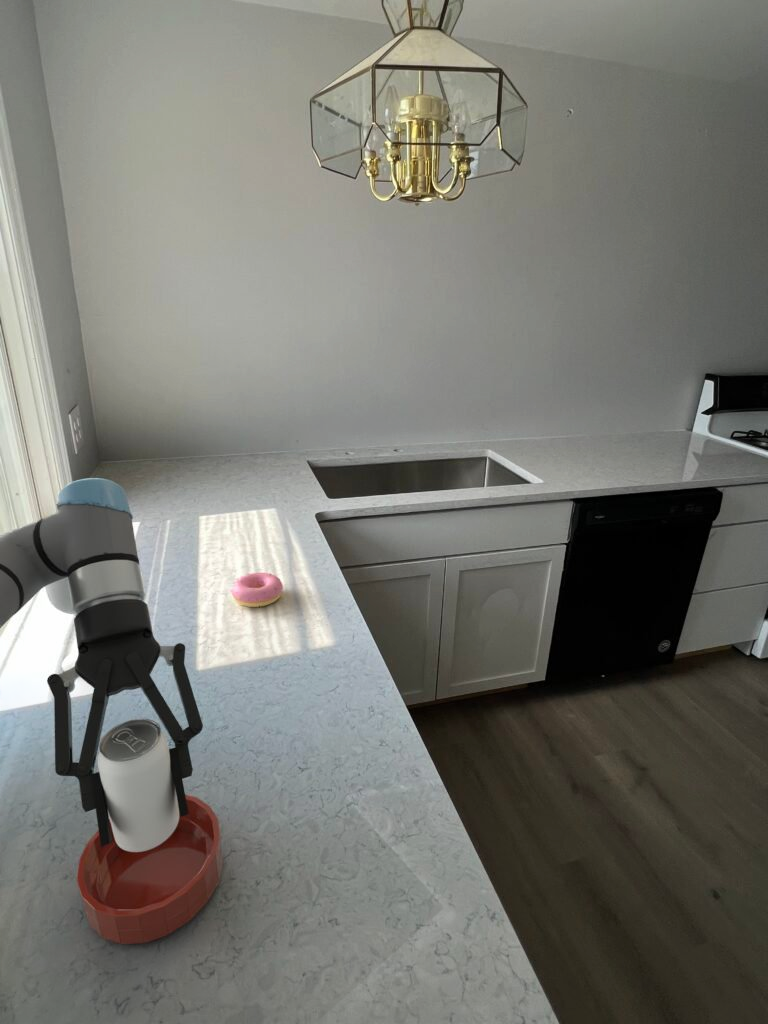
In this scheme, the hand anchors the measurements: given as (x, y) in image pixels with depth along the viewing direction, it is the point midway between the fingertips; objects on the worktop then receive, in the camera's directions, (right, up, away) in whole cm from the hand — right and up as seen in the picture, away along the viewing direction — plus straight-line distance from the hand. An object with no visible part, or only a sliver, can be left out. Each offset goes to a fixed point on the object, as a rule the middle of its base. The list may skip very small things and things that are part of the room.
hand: (146, 828), depth 55 cm
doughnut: (-4, +13, +66) cm, 67 cm away
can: (-2, -2, +4) cm, 5 cm away
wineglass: (-29, +5, +44) cm, 53 cm away
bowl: (-2, -10, +7) cm, 12 cm away
